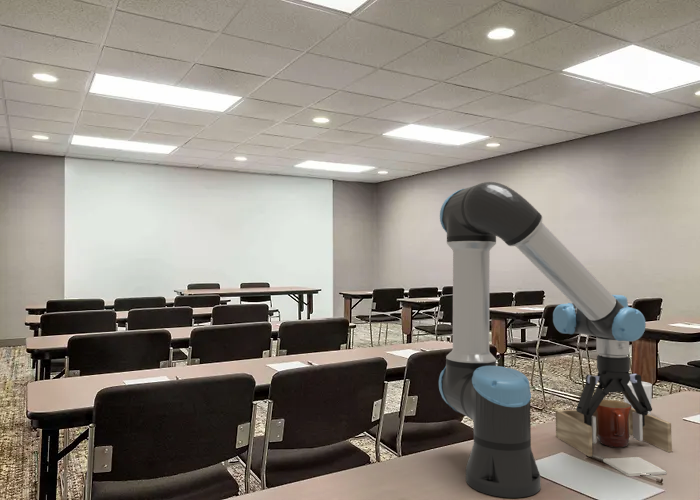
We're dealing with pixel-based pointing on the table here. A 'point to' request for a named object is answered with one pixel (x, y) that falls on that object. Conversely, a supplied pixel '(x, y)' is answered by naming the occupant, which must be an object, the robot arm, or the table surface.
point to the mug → (613, 423)
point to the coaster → (634, 466)
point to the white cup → (648, 392)
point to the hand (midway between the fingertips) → (614, 440)
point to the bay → (580, 435)
